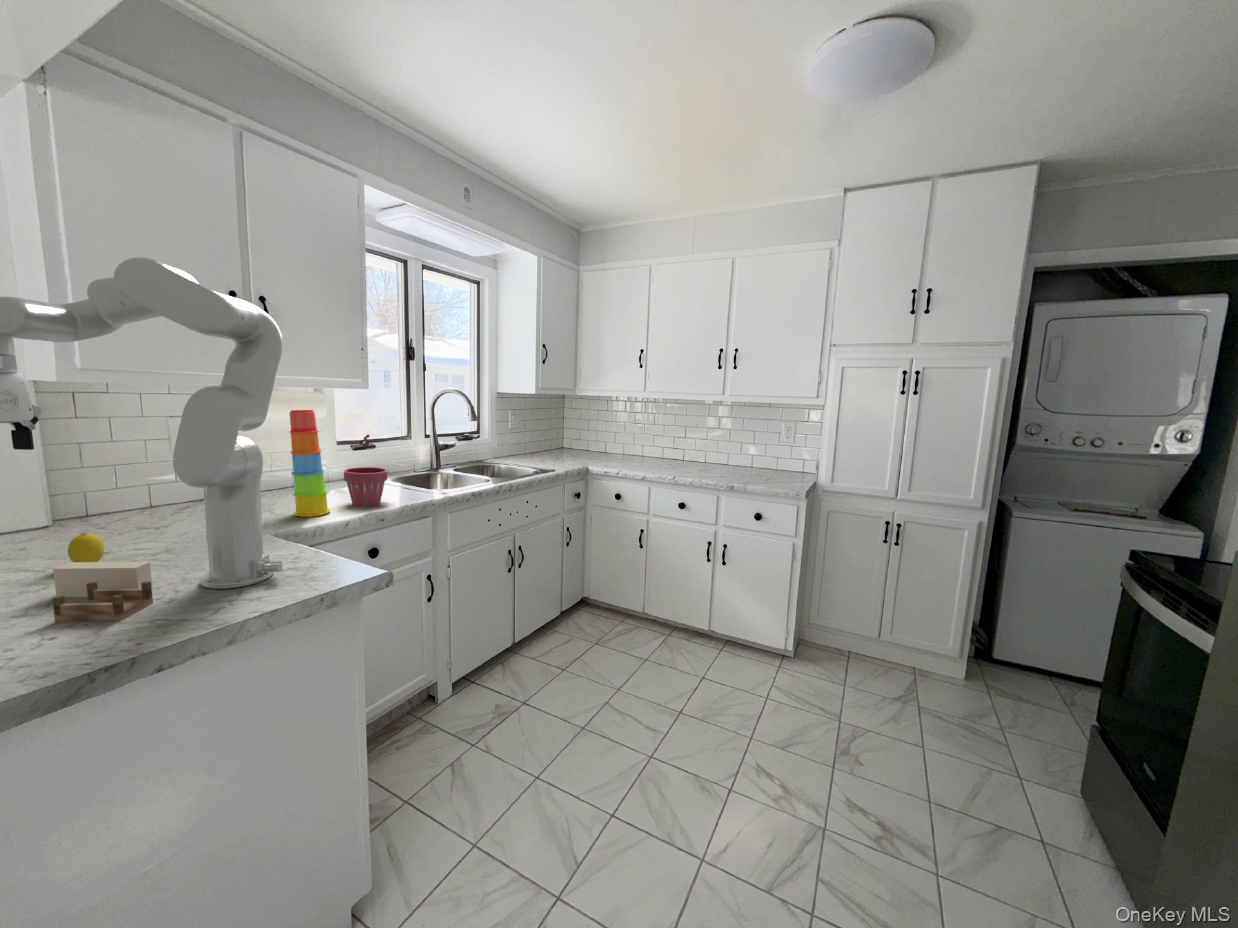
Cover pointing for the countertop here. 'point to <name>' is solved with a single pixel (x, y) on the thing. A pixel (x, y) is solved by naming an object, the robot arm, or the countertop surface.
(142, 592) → the rack
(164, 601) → the countertop surface
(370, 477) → the plant pot
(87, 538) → the lemon
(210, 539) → the robot arm
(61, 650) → the countertop surface
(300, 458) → the stacking cups
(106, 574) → the clay bar
